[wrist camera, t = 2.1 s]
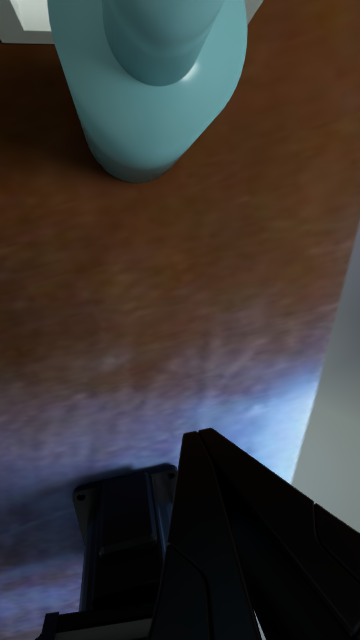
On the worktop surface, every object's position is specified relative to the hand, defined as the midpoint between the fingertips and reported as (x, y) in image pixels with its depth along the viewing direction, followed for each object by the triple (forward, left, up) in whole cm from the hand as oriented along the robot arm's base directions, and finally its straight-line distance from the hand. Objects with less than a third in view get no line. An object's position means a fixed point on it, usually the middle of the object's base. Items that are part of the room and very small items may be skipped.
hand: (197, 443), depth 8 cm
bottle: (+10, 0, -8) cm, 13 cm away
